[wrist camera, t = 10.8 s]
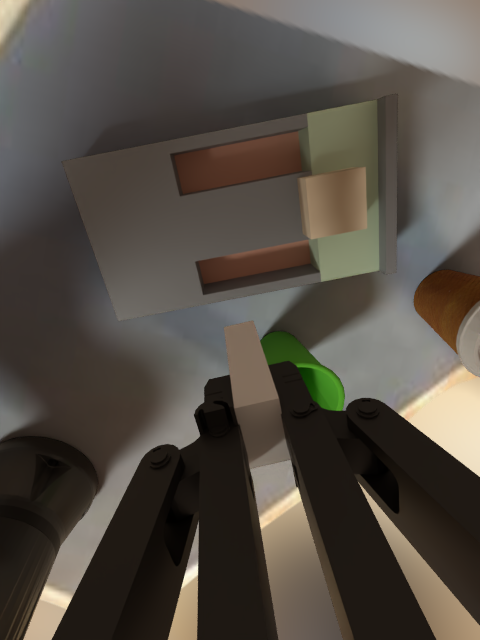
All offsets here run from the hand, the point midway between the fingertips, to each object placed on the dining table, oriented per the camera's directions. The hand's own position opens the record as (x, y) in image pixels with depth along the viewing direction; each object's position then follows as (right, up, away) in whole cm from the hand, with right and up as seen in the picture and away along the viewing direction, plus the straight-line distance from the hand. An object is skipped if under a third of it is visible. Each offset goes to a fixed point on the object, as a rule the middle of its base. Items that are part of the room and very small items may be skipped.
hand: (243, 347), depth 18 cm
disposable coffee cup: (+24, +4, +24) cm, 34 cm away
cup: (+4, -2, +25) cm, 25 cm away
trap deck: (0, +12, +18) cm, 22 cm away
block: (+8, +12, +14) cm, 20 cm away
